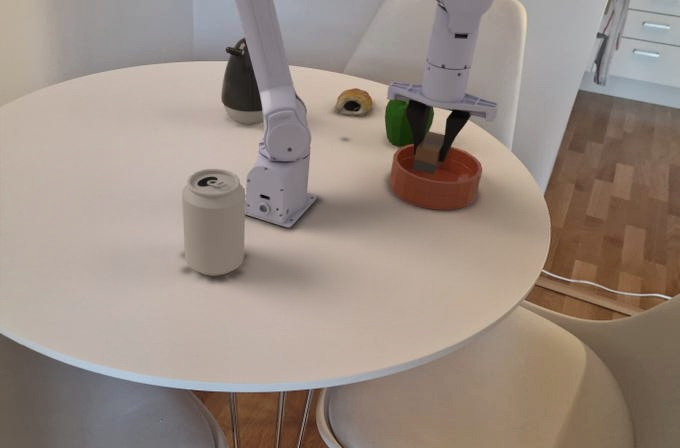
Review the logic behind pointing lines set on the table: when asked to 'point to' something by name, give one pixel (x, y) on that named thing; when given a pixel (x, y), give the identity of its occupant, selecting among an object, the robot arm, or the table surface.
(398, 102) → the bell pepper
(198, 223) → the can
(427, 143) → the eraser
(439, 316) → the table surface
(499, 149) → the table surface
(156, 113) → the table surface
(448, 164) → the bowl
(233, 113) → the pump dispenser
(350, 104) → the pastry
